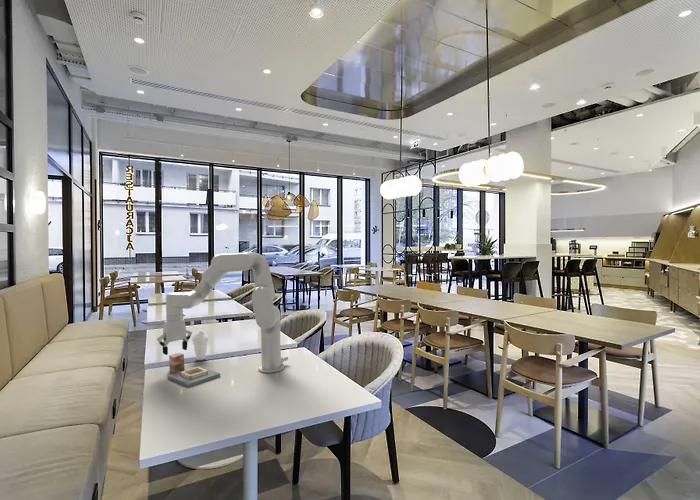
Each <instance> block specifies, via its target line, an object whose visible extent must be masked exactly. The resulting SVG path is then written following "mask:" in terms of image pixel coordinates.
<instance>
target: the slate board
mask: <svg viewBox="0 0 700 500" xmlns="http://www.w3.org/2000/svg"><path fill="white" fill-rule="evenodd" d="M167 377H168V378H167V379H168V380H170V381H172V382H175V383H177V384H179V385H182V386H184V387H186V388H191V387H193V386H197V385H200V384H202V383H205V382H208V381H211V380H213V379H217V378H220V377H221V373H220V372H217V371H215V370H212V369H209V368H207V367H203V366H201V365H198V366H195V367H191V368H188V369H185V370H184V371H181V372H177V373H172V374H169V375H167Z"/></svg>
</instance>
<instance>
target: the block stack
mask: <svg viewBox="0 0 700 500" xmlns="http://www.w3.org/2000/svg"><path fill="white" fill-rule="evenodd" d="M168 361H169V364H168V365H169V372H171V373H172V374H175V373H178V372H181V371H184V370H186V369H185V355H184V353H181V352H177V353H173V354H169V355H168Z"/></svg>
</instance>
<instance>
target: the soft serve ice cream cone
mask: <svg viewBox="0 0 700 500" xmlns="http://www.w3.org/2000/svg"><path fill="white" fill-rule="evenodd" d="M191 340H192V344H193V351H194V355H195V358H196V360H197V361H203V360H205V359H206V354H207V350H208V341H209V336H208V335H207V334H206V333H205V331H204V330H203V329H200V330H199V331H198V332H197V333H196V334H194V335H193V336H192V339H191Z"/></svg>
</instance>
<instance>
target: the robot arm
mask: <svg viewBox="0 0 700 500" xmlns="http://www.w3.org/2000/svg"><path fill="white" fill-rule="evenodd" d="M248 270H252V274H253V281H254V287H255V288H254V290H253V291H252V293H251V304H252V308H253V310H252V311H253V315H254V320H255V323H256V324H257V326H258V327H259V328H260V355H261V359H260V360H261V364H260V365H259V366H258V369H257V370H258V371H259V372H261V373H266V374H267V373H269V374H271V373H277V372H280V371H282V370H284V369H285V364H284V362H286V361H288V360H289V357H288V356H283V357H282V351H281V350H282V349H281V347H282V345H281V322H282V321H281V318H282V317H281V315H282V314H281V311H280V309H279V308H278V307H277V306H276V305H274V302H273V300H274V299H275V296H276V292H275V288H274V284H273V277H272V274H271V269H270V266H269V262H268V261H267V259H266V258H265V257H264V256H263V255H262V254H260V253H258V252H254V251H245V252H237V253H220V254H219V253H218V254H215V256H213V257H212V259H211V261H210V265H209V266H208V267H207V268H206V269H205V270H204V272H202V274H201V280H200V281H199V283H198V284H197V285H196V286H195V287H194V288H193V289H192V290H191V291H189V292H186V293H181V292H174V291H173V292H169V293H167V294H166V295H165V307H166V308H165V312H166V316H165V317H166V318H165V321H164V323H163V329H162V334H161V335H160V336H158V338H156V341H157V343H158V345H160V346H161V347H162V354H163V355H165V356H168V354H169V352H168V351H169V350H168V349H169V348H168V345H169V343H172V342H178V341H181V340H182V341H181V342H182V344H181V346H182V350H183V351H187V350H188V342H189V340H190V339H191V337H192V335H193V332H192V331H190V330H187V326H186V321H185V319H184V317H186V314H185V313H184V309H186V310H187V309H192V308H194V307H196V306H198V305H200V304H201V303H202V302H203V301H204V300H206V298H207V297H208V296H209V295H210V294H211V293H212V291H213V290H214V289H215V287H216V286H217V284H218V283H219V282H221V280H222V279H223V278H224V277H225V276H226V275H227V274H228V273H231V272H245V271H248ZM162 340H163V341H162Z"/></svg>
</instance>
